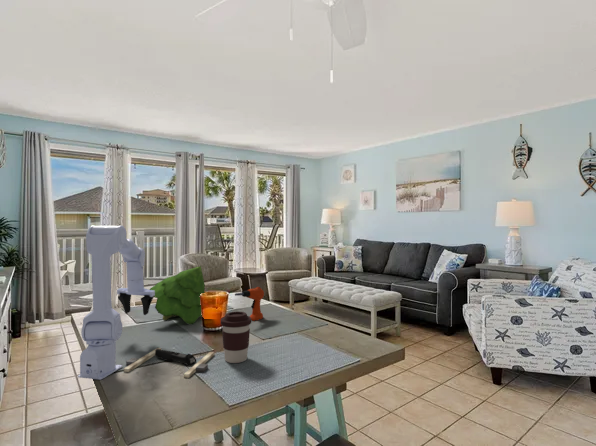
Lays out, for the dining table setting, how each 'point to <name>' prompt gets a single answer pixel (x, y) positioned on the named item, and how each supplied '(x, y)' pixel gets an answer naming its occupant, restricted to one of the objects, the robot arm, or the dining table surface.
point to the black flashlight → (175, 357)
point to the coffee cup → (235, 336)
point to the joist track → (136, 362)
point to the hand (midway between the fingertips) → (136, 313)
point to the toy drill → (256, 296)
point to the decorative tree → (180, 295)
